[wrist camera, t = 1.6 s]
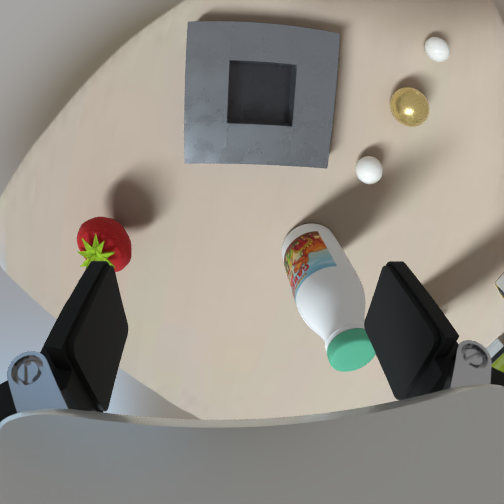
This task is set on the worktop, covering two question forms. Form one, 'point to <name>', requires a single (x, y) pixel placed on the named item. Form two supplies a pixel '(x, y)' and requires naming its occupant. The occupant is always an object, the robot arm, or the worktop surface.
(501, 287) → the medicine bottle
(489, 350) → the tea box
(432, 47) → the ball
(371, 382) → the worktop surface
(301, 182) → the worktop surface
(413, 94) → the brass ball
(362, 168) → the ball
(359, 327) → the milk bottle
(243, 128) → the plate
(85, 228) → the strawberry
